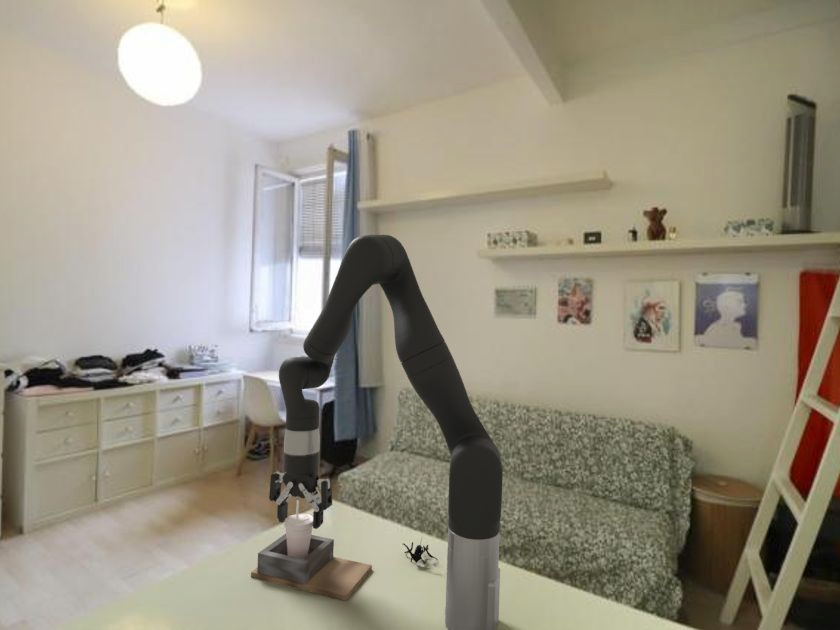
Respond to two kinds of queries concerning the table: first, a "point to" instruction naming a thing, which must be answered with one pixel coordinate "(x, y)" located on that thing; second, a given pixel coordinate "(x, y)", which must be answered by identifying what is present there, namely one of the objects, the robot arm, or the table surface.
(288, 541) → the smoothie
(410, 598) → the table surface
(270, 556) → the board
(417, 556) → the creature
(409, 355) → the robot arm
